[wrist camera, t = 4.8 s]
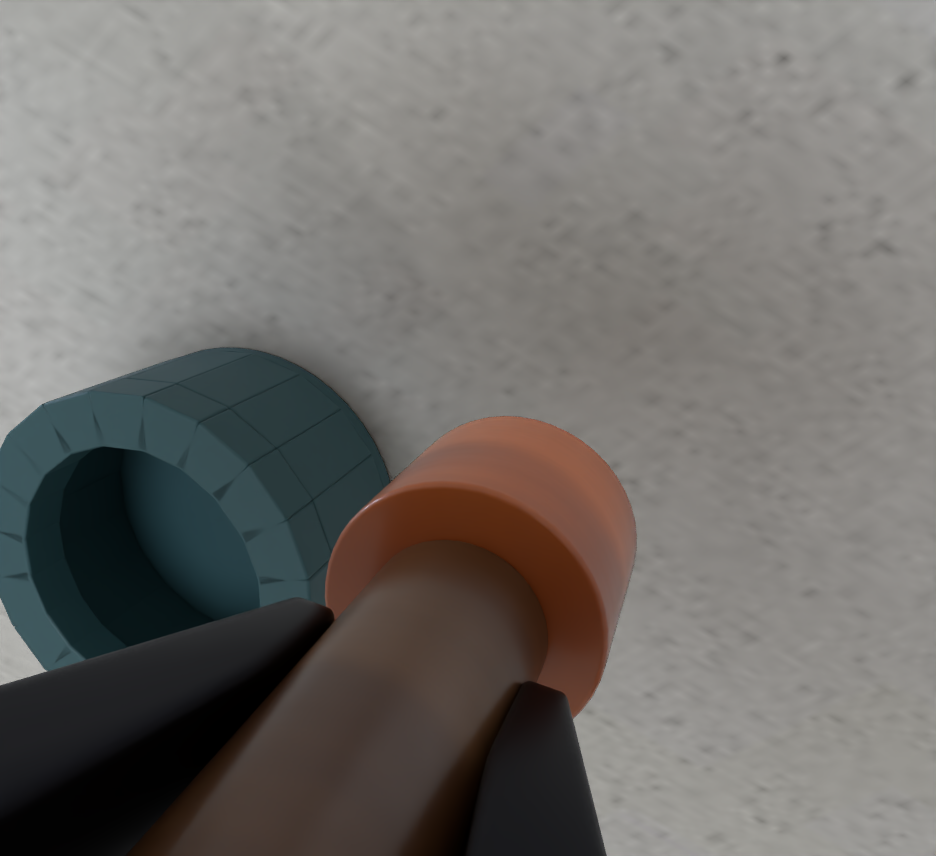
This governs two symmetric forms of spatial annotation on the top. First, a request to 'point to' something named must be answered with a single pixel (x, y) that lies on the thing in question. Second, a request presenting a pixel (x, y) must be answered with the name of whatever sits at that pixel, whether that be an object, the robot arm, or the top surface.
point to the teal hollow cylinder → (175, 500)
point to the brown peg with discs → (424, 653)
